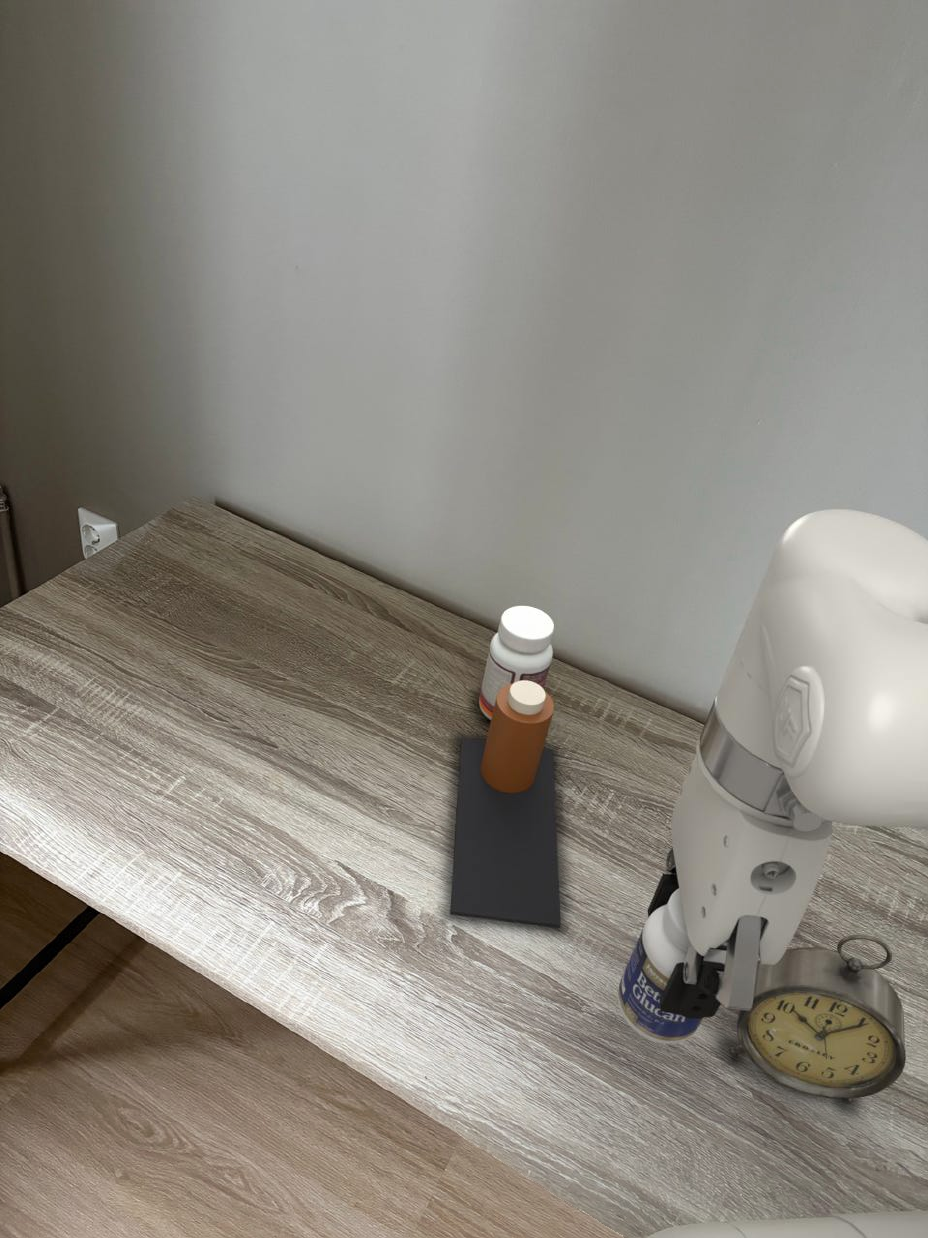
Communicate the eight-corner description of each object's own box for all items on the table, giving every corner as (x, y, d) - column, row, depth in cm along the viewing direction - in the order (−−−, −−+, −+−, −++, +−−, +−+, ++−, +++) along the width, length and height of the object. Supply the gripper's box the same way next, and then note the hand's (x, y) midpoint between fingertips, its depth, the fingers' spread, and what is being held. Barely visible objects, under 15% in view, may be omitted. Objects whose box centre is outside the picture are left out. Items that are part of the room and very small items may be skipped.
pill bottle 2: (606, 1026, 60) (647, 930, 55) (625, 957, 65) (665, 861, 59) (692, 1061, 59) (743, 967, 54) (705, 989, 64) (753, 895, 58)
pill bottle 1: (540, 695, 102) (563, 610, 95) (533, 736, 97) (556, 648, 90) (483, 682, 102) (501, 595, 95) (472, 721, 97) (491, 633, 90)
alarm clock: (711, 1065, 72) (788, 937, 62) (722, 1004, 76) (796, 875, 67) (860, 1129, 70) (964, 1007, 60) (863, 1063, 74) (960, 938, 64)
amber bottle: (528, 799, 90) (551, 720, 83) (474, 783, 90) (492, 702, 84) (539, 761, 94) (561, 682, 88) (487, 745, 94) (505, 666, 88)
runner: (559, 928, 80) (560, 925, 79) (450, 914, 79) (450, 911, 79) (552, 752, 96) (553, 749, 95) (461, 739, 95) (461, 736, 95)
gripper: (908, 902, 42) (767, 1112, 52) (810, 652, 56) (715, 859, 66) (736, 880, 41) (630, 1096, 52) (681, 633, 55) (606, 845, 66)
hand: (678, 961), depth 59 cm, fingers closed on pill bottle 2, 5 cm apart
